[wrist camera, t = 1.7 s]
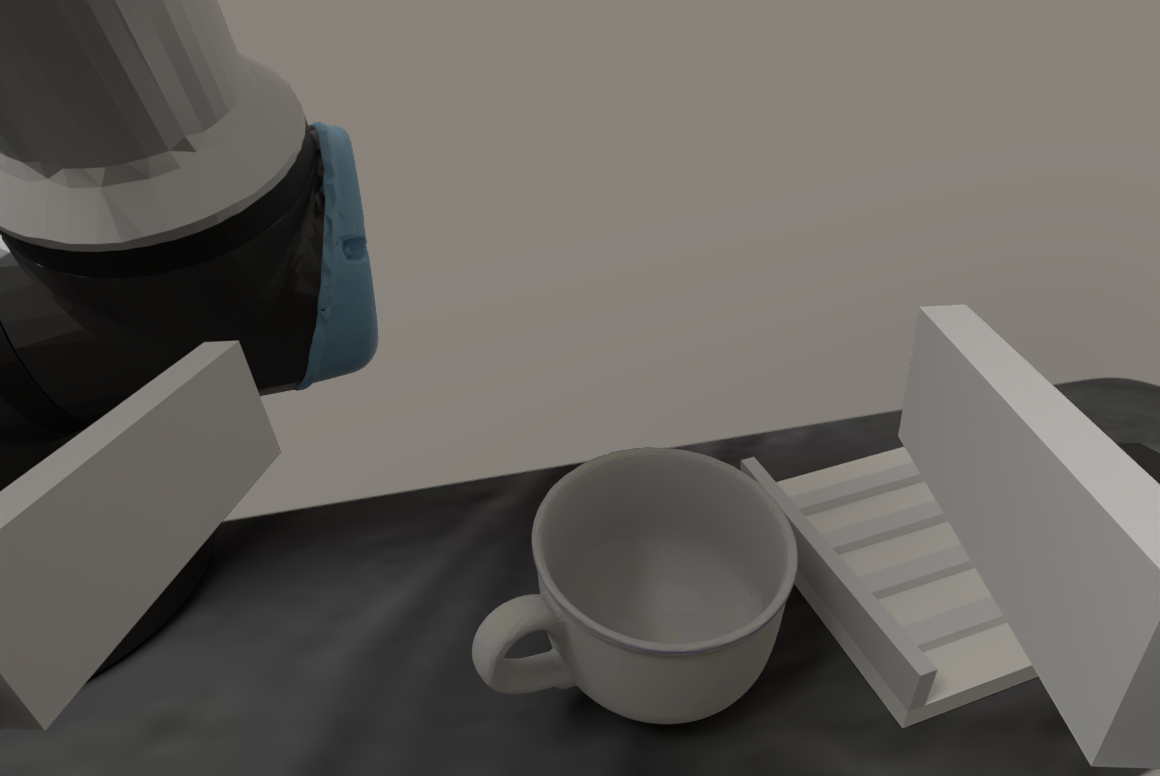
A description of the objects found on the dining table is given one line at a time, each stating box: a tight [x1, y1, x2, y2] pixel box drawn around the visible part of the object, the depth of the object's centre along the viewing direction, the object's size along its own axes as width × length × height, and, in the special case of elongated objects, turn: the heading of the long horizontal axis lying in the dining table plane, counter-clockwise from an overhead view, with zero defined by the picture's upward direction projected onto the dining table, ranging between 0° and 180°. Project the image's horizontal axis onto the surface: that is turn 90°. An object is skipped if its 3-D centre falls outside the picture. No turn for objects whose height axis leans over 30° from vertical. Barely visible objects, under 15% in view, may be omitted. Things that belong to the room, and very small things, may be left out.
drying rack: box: [740, 447, 1039, 728], centre depth 34 cm, size 16×14×4 cm
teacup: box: [472, 448, 798, 724], centre depth 29 cm, size 14×11×8 cm
